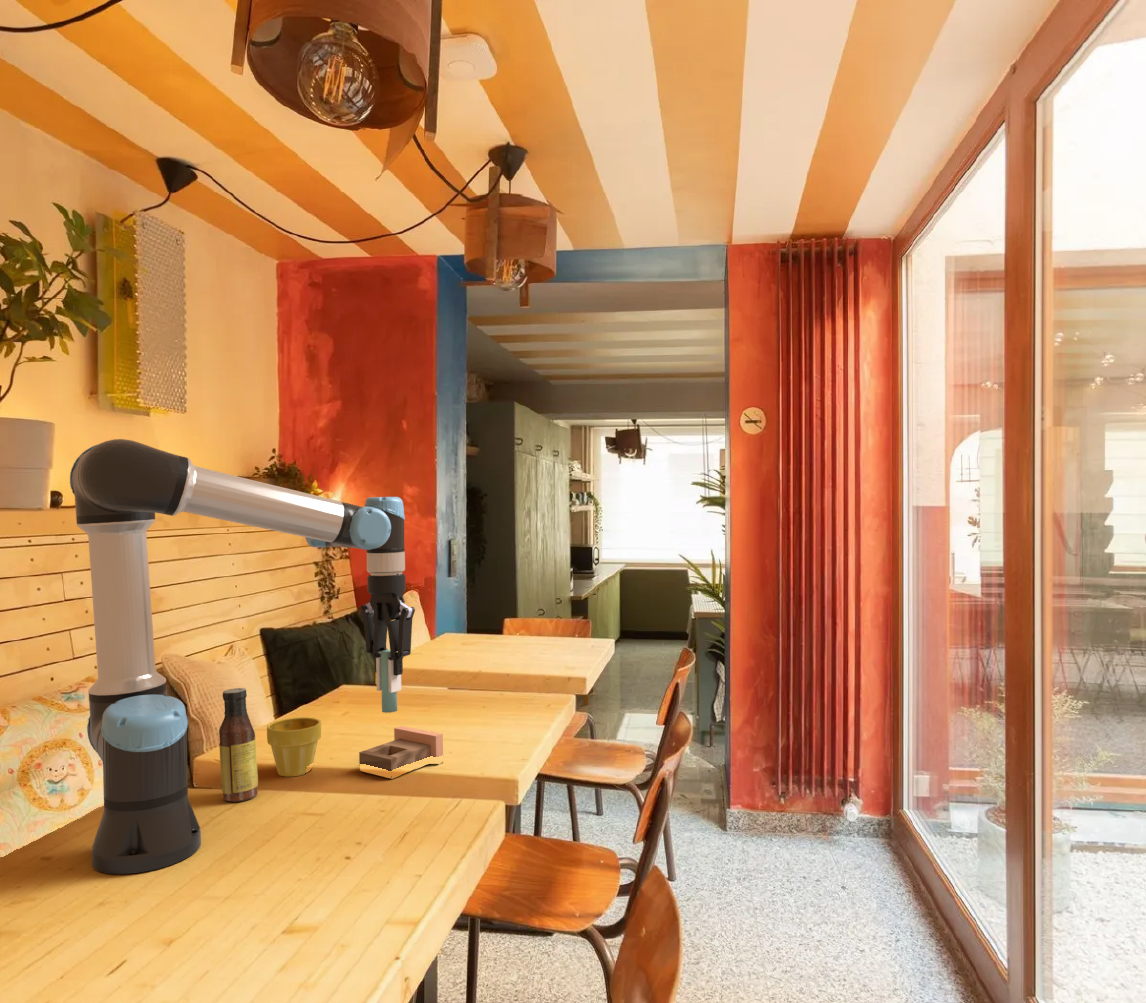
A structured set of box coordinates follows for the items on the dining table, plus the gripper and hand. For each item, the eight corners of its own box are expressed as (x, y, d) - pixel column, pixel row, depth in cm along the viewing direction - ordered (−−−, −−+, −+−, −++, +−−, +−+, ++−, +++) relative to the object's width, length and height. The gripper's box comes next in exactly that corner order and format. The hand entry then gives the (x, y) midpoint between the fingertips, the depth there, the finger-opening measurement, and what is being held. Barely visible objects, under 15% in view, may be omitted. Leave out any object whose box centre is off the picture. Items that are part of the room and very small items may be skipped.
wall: (436, 765, 170) (435, 736, 170) (394, 756, 177) (394, 728, 177) (443, 762, 172) (442, 733, 172) (401, 754, 178) (401, 726, 178)
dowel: (400, 710, 168) (399, 650, 168) (389, 713, 166) (388, 653, 165) (389, 708, 170) (388, 649, 170) (378, 711, 167) (377, 651, 167)
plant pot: (312, 780, 163) (311, 729, 163) (259, 780, 163) (258, 730, 163) (328, 763, 173) (327, 716, 173) (279, 763, 173) (278, 716, 173)
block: (391, 779, 162) (391, 759, 162) (359, 771, 167) (359, 752, 167) (431, 764, 171) (430, 744, 171) (399, 757, 176) (399, 738, 176)
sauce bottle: (264, 791, 156) (262, 686, 156) (248, 804, 150) (245, 693, 150) (231, 791, 157) (229, 686, 157) (213, 803, 151) (211, 693, 151)
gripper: (428, 573, 166) (430, 690, 166) (373, 570, 175) (375, 682, 175) (400, 576, 160) (403, 698, 160) (345, 573, 169) (347, 689, 169)
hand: (389, 689), depth 168 cm, fingers closed on dowel, 3 cm apart
